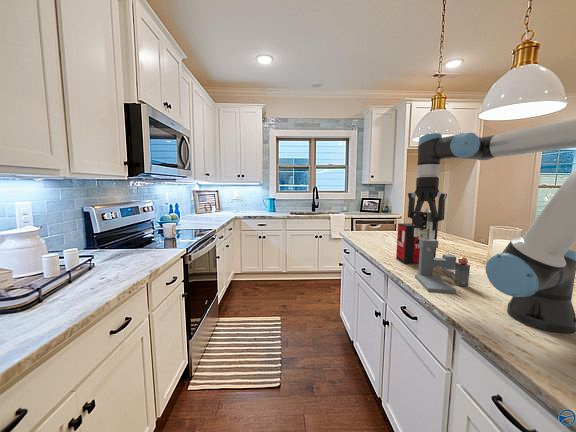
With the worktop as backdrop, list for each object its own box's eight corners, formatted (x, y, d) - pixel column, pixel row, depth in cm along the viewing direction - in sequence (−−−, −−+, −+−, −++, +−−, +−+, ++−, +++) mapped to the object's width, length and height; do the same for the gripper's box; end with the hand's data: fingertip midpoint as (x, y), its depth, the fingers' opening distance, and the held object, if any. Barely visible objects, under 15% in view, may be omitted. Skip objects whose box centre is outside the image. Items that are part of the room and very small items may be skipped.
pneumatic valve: (438, 239, 100) (440, 208, 98) (422, 242, 93) (424, 209, 92) (424, 236, 104) (426, 207, 103) (408, 239, 98) (410, 208, 96)
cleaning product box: (404, 264, 133) (406, 226, 130) (396, 259, 141) (398, 223, 139) (434, 263, 134) (437, 225, 131) (424, 258, 142) (427, 223, 140)
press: (479, 294, 95) (483, 250, 93) (427, 291, 98) (430, 248, 96) (450, 273, 118) (453, 237, 116) (409, 271, 121) (411, 236, 119)
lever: (468, 286, 103) (470, 258, 101) (458, 285, 103) (461, 258, 102) (446, 270, 122) (448, 247, 121) (438, 269, 123) (440, 246, 121)
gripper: (458, 176, 91) (454, 240, 94) (409, 177, 106) (406, 233, 108) (449, 175, 87) (445, 242, 89) (399, 177, 101) (396, 235, 104)
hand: (423, 237), depth 99 cm, fingers closed on pneumatic valve, 5 cm apart
